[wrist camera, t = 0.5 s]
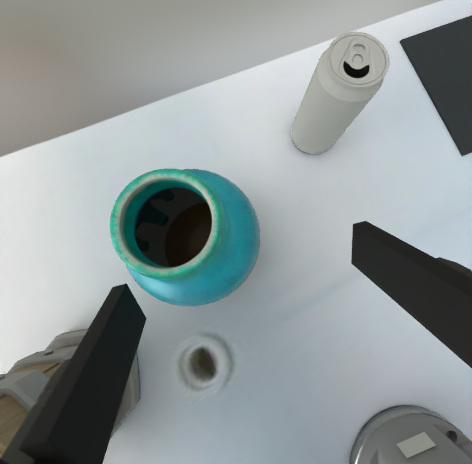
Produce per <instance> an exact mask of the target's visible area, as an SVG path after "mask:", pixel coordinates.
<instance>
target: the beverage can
mask: <svg viewBox="0 0 472 464" xmlns="http://www.w3.org/2000/svg"><path fill="white" fill-rule="evenodd" d="M388 68H389V56H388V53H387V50H386V48H385V47H384V45H383V44H382V43H381V42H380V41H379V40H377V39H376V38H375V37H373V36H371V35H369V34H366V33H361V32H350V33H346V34H343V35H341V36H339V37H338V38H336V39H335V40H334V41H333V42H332V43H331V45H330V46H329V48H328V49H327V50H326V51H325V52H324V53H323V54H322V56H321V57H320V59H319V62H318V64H317V66H316V69H315V71H314V74H313V76H312V79H311V81H310V83H309V86H308V88H307V91H306V93H305V95H304V98H303V100H302V103H301V105H300V108H299V110H298V112H297V115H296V117H295V120H294V122H293V124H292V128H291V137H292V140H293V142H294V144H295V145H296V146H297V147H298V148H299V149H300V150H302V151H304V152H306V153H310V154H319V153H322V152H325V151H327V150H328V149H329V148H330V147H331V146H332V145H333V144H334V143H335V142H336V140H337V139H338V138H339V137H340V136H341V134H342V133H343V132H344V131H345V130H346V128H347V127H348V126H349V125H350V124H351V122H352V121H353V120H354V119H355V118H356V116H357V115H358V114H359V113H360V112H361V110H362V109H363V108H364V107H365V106H366V104H367V103H368V102H369V101H370V100H371V98H372V97H373V96H374V95H375V94H376V92H377V91H378V90H379V88H380V87H381V85H382V83H383V79H384V76H385V75H386V73H387V71H388Z"/></svg>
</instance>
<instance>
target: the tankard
mask: <svg viewBox="0 0 472 464" xmlns="http://www.w3.org/2000/svg"><path fill="white" fill-rule="evenodd" d="M87 331H88V329H87V330H81V331H74V332H67V333H63V334H61V335H58V336H56V337H55V339H54V340H53V341H52V342H51V343H50V345H49V346H48V347H47V348H46V350H45V351H42V352H36V353H34V354H32V355H30V356H28V357H25V358H23V359H21V360H19V361H17V362H16V363H15V365H14V366H13V367H12V368H11V369H10V371H9V372H8V373H7V374H1V375H0V458H1V456H2V455H3V453H4V452H5V450H6V448H7V447H8V445H9V444H10V442H11V440H12V439H13V437H14V435H15V434H16V432H17V431H18V429H19V427H20V426H21V424H22V423H23V421H24V419H25V418H26V416H27V415H28V413H29V411H30V410H31V408H32V407H33V405H35V404H36V400H37V399H38V397H39V395H40V394H41V392H43V391H44V387H45V386H46V384H47V382H48V381H49V379H50V378H51V376H52V374H53V373H54V372H55V371H56V370H57V369H58V368H59V367H60V366H61V364H62V363H63V362H64V361H65V360H67V359H71V358H72V356H73V355H74V353H75V351H76V349H77V348H78V346H79V344H80V343H81V341H82V339H83V337H84V336H85V334H86V332H87ZM139 399H140V389H139V376H138V363H137V353H136V354H135V358H134V361H133V364H132V367H131V371H130V374H129V377H128V381H127V384H126V387H125V390H124V394H123V397H122V400H121V404H120V407H119V410H118V414H117V417H116V420H115V423H114V427H113V430H112V433H111V437H112V435H113V434H114V433H115V431H116V430H117V429H118V427H119V426H120V425H121V423H122V422H123V421H124V419H125V418H126V417H127V415H128V414H129V413H130V411H131V410H132V409H133V407H134V406H135V404H136V403H137V402H138V400H139ZM111 437H110V438H111Z"/></svg>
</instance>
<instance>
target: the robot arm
mask: <svg viewBox="0 0 472 464" xmlns="http://www.w3.org/2000/svg"><path fill="white" fill-rule="evenodd" d="M352 264H353V265H354V266H355V267H356V268H358V269H359V270H360V271H361V272H362V273H363V274H364V275H366V276H367V277H368V278H369V279H370V280H371V281H372V282H374V283H375V284H376V285H377V286H378V287H379V288H380V289H382V290H383V291H384V292H385V293H386V294H387V295H388V296H390V297H391V298H392V299H393V300H394V301H395V302H396V303H398V304H399V305H400V306H401V307H402V308H403V309H404V310H406V311H407V312H408V313H409V314H410V315H411V316H413V317H414V318H415V319H416V320H417V321H418V322H419V323H421V324H422V325H423V326H424V327H425V328H426V329H427V330H429V331H430V332H431V333H432V334H433V335H434V336H435V337H437V338H438V339H439V340H440V341H441V342H442V343H443V344H445V345H446V346H447V347H448V348H449V349H450V350H451V351H453V352H454V353H455V354H456V355H457V356H458V357H459V358H461V359H462V360H463V361H464V362H465V363H466V364H467V365H469V366H470V367H471V368H472V271H471V270H470V269H468V268H466V267H464V266H462V265H460V264H458V263H456V262H453V261H449V260H446V259H443V258H440V257H439V258H434V257H432V256H430V255H428V254H426V253H424V252H423V251H421V250H419V249H417V248H415V247H413V246H411V245H410V244H408V243H406V242H404V241H402V240H400V239H398V238H397V237H395V236H393V235H391V234H389V233H387V232H385V231H384V230H382V229H380V228H378V227H376V226H374V225H372V224H371V223H369V222H367V221H363V222H360V223H356V224H353V238H352ZM145 321H146V317H145V315H144V313H143V312H142V310H141V308H140V306H139V305H138V303H137V301H136V299H135V298H134V296H133V294H132V292H131V291H130V289H129V287H128V285H127V284H123V285H119V286H116V287H113V288H112V289H111V291H110V293H109V295H108V296H107V298H106V300H105V301H104V303H103V305H102V307H101V308H100V310H99V312H98V313H97V315H96V317H95V319H94V320H93V322H92V324H91V325H90V327H89V329H88V331H87V332H86V334H85V336H84V337H83V339H82V341H81V343H80V344H79V346H78V348H77V349H76V351H75V353H74V355H73V356H72V358H71V359H67V360H65V361H64V362H63V363H62V364H61V366H60V367H59V368H58V369H57V370H56V371H55V372H54V373H53V374H52V376H51V378H50V379H49V381H48V382H47V384H46V386H45V387H44V391H43V392H41V394H40V395H39V397H38V399H37V400H36V404H35V405H33V407H32V408H31V410H30V411H29V413H28V415H27V416H26V418H25V419H24V421H23V423H22V424H21V426H20V427H19V429H18V431H17V432H16V434H15V435H14V437H13V439H12V440H11V442H10V444H9V445H8V447H7V448H6V450H5V452H4V453H3V455H2V456H1V458H0V464H102V463H103V460H104V456H105V453H106V450H107V446H108V443H109V440H110V437H111V433H112V430H113V427H114V423H115V420H116V417H117V414H118V410H119V407H120V404H121V400H122V397H123V394H124V390H125V387H126V384H127V381H128V377H129V374H130V371H131V367H132V364H133V361H134V358H135V354H136V351H137V348H138V344H139V341H140V338H141V335H142V331H143V328H144V325H145ZM350 464H472V441H471V440H469V439H468V438H467V437H466V436H465V435H464V434H463V433H462V432H461V431H460V430H459V429H457V428H456V427H455V426H453V425H452V424H451V423H450V422H448V421H447V420H446V419H444V418H443V417H441V416H440V415H438V414H436V413H434V412H432V411H430V410H427V409H424V408H420V407H414V406H400V407H395V408H391V409H388V410H385V411H383V412H381V413H380V414H378V415H376V416H375V417H374V418H372V419H371V420H370V421H369V422H368V423H367V424H366V425H365V426H364V428H363V429H362V430H361V432H360V433H359V435H358V437H357V439H356V441H355V443H354V446H353V449H352V453H351V457H350Z"/></svg>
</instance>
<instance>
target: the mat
mask: <svg viewBox="0 0 472 464" xmlns="http://www.w3.org/2000/svg"><path fill="white" fill-rule="evenodd" d="M400 43H401V45H402V47H403V48H404V50H405V52H406V54H407V56H408V57H409V59H410V61H411V63H412V65H413V67H414V68H415V70H416V72H417V74H418V76H419V78H420V79H421V81H422V83H423V85H424V87H425V89H426V90H427V92H428V94H429V96H430V98H431V100H432V101H433V103H434V105H435V107H436V109H437V110H438V112H439V114H440V116H441V118H442V120H443V121H444V123H445V125H446V127H447V129H448V131H449V132H450V134H451V136H452V138H453V140H454V142H455V143H456V145H457V147H458V149H459V151H460V152H461V154H462V156H463V155H466V154H468V153H471V152H472V16H469V17H466V18H463V19H460V20H457V21H454V22H451V23H449V24H446V25H443V26H440V27H437V28H434V29H431V30H428V31H425V32H422V33H420V34H417V35H414V36H411V37H408V38H405V39H402V40H401V41H400Z"/></svg>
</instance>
